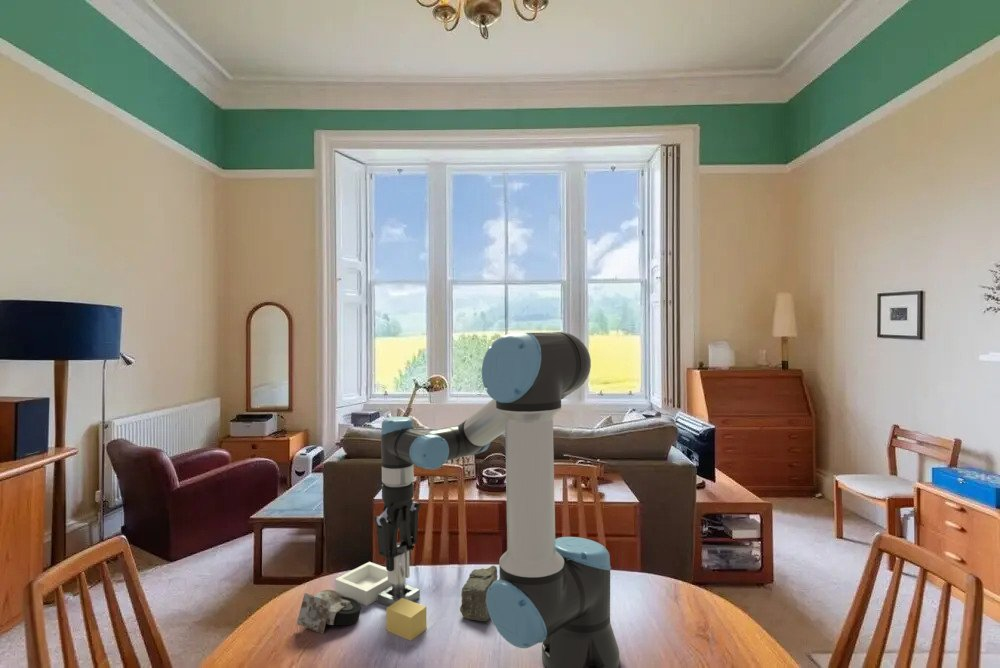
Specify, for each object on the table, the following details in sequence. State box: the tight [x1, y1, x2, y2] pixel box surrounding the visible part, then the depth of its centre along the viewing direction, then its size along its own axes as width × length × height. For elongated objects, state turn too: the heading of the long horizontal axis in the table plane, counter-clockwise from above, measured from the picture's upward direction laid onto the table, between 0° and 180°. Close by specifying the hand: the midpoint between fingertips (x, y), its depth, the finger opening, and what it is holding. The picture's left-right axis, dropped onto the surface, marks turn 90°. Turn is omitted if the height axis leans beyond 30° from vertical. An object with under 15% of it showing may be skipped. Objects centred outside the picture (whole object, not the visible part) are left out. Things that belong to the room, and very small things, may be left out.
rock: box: [459, 565, 499, 622], centre depth 124 cm, size 17×7×10 cm
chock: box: [385, 598, 427, 641], centre depth 114 cm, size 7×5×5 cm
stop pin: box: [392, 541, 407, 598], centre depth 126 cm, size 4×4×13 cm
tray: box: [334, 561, 392, 607], centre depth 132 cm, size 11×11×4 cm
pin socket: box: [377, 584, 421, 607], centre depth 127 cm, size 7×7×2 cm
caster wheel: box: [296, 589, 362, 634], centre depth 118 cm, size 7×11×10 cm
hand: (398, 579), depth 127 cm, fingers closed on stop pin, 3 cm apart
